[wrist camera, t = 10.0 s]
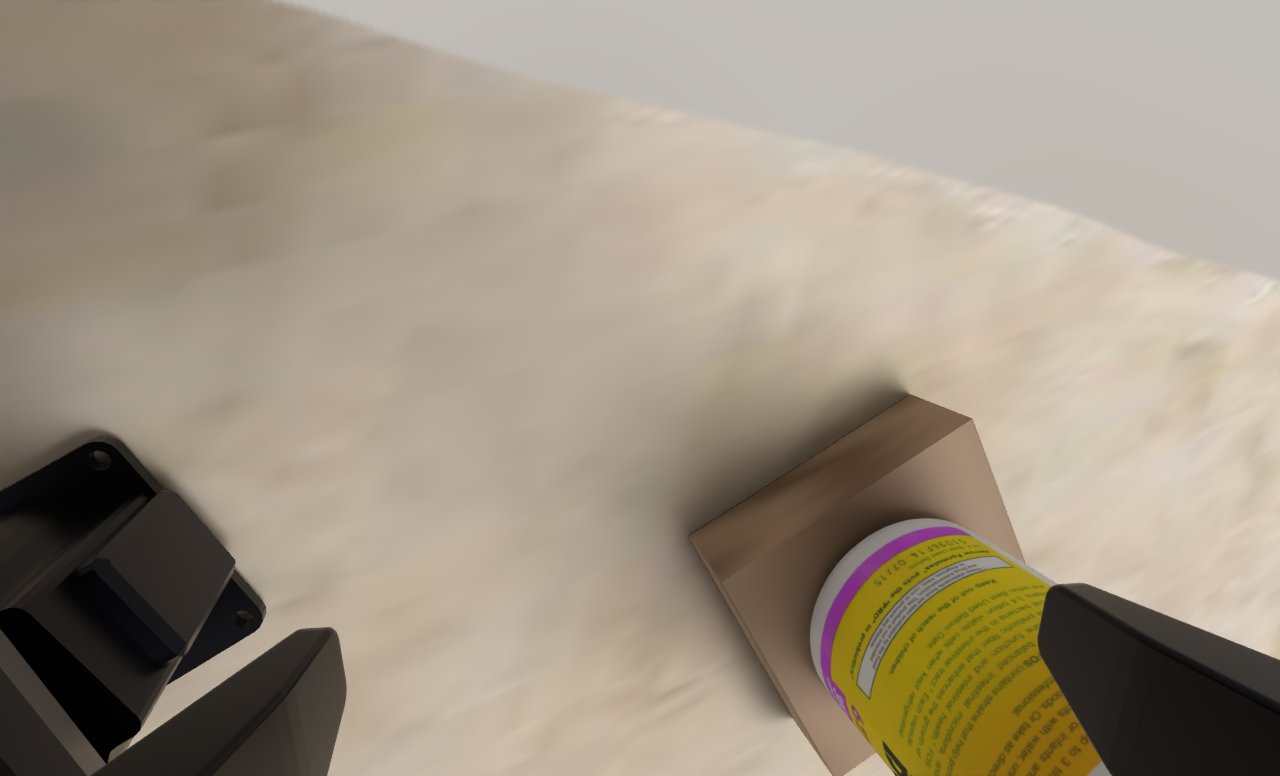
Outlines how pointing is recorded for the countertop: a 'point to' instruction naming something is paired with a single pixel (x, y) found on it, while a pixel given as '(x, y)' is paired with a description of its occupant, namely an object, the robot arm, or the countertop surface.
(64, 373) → the countertop surface
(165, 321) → the countertop surface
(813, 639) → the supplement bottle
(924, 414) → the walnut stand
